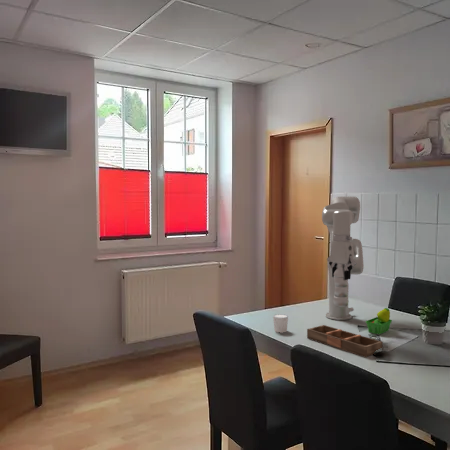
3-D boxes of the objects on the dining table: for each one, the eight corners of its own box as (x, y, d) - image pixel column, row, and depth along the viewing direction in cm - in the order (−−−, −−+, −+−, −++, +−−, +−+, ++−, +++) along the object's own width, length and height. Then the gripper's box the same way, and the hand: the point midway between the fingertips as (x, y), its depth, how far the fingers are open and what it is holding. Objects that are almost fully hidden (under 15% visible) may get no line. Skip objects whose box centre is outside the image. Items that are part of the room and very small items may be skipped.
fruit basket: (376, 327, 215) (377, 303, 215) (395, 331, 209) (395, 306, 208) (364, 332, 207) (365, 307, 207) (383, 336, 201) (383, 311, 200)
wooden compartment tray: (323, 333, 205) (323, 323, 205) (382, 351, 181) (382, 340, 181) (306, 338, 199) (306, 328, 199) (364, 357, 174) (365, 346, 174)
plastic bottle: (346, 309, 203) (346, 264, 201) (331, 307, 206) (331, 263, 205) (350, 306, 208) (351, 262, 207) (335, 304, 212) (336, 261, 210)
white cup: (271, 329, 213) (271, 314, 213) (286, 328, 214) (286, 313, 213) (274, 333, 206) (274, 318, 206) (289, 332, 207) (289, 317, 206)
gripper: (363, 239, 200) (362, 280, 202) (332, 236, 214) (331, 274, 215) (351, 240, 196) (351, 282, 197) (321, 237, 210) (320, 276, 211)
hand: (341, 277), depth 206 cm, fingers closed on plastic bottle, 6 cm apart
